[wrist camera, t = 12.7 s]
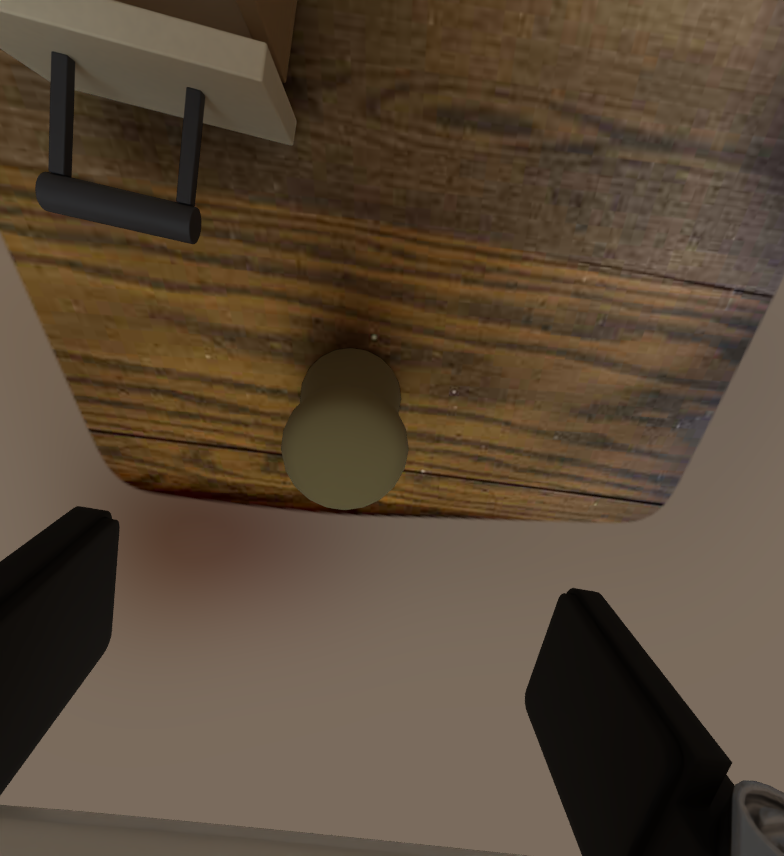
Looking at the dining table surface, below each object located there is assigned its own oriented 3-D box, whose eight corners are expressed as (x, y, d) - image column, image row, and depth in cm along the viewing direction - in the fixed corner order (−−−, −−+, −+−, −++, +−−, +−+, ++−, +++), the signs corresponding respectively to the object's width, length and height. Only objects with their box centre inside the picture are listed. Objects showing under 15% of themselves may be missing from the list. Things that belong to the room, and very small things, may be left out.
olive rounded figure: (316, 333, 27) (288, 360, 17) (414, 367, 28) (445, 412, 18) (288, 429, 29) (245, 508, 18) (382, 458, 30) (392, 549, 19)
